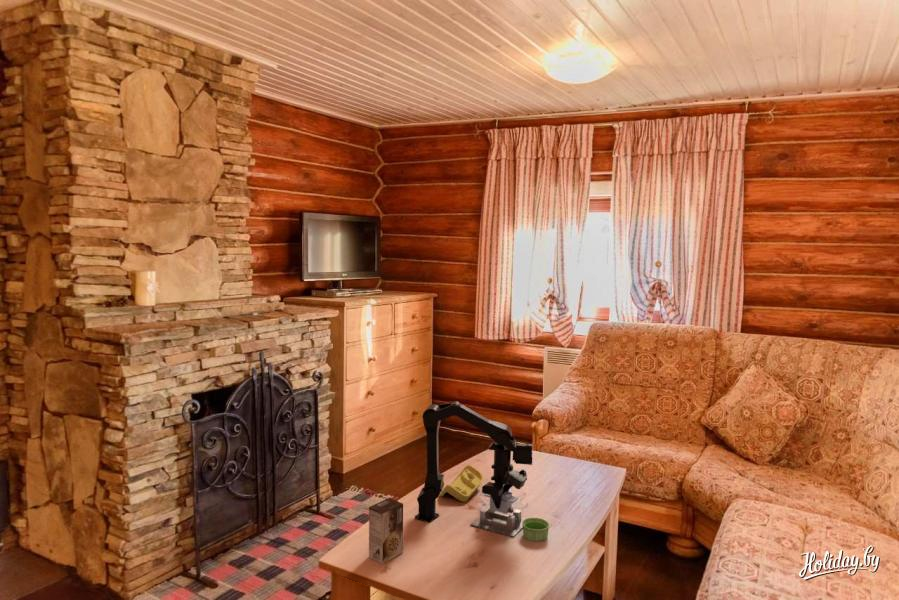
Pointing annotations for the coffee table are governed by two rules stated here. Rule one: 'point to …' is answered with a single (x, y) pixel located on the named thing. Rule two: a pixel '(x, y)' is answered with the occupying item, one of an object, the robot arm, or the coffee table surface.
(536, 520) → the ramekin
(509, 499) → the servo
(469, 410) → the robot arm
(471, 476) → the plastic component
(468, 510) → the coffee table surface
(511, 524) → the chassis
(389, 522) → the coffee box
